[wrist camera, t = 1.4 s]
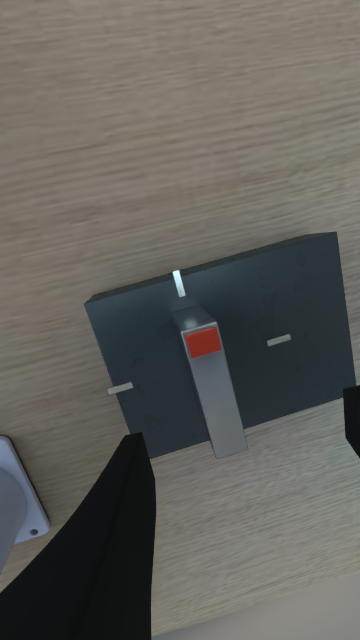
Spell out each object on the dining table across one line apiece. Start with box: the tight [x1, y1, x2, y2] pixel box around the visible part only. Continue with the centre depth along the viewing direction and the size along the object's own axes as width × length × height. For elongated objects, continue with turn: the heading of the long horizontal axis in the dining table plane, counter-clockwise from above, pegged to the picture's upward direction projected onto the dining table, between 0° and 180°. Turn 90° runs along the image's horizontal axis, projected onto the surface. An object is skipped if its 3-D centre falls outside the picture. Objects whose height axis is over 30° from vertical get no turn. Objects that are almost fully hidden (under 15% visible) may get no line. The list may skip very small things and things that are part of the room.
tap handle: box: [172, 305, 248, 459], centre depth 15 cm, size 6×2×4 cm, turn 15°
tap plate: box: [84, 232, 356, 459], centre depth 18 cm, size 14×11×3 cm
